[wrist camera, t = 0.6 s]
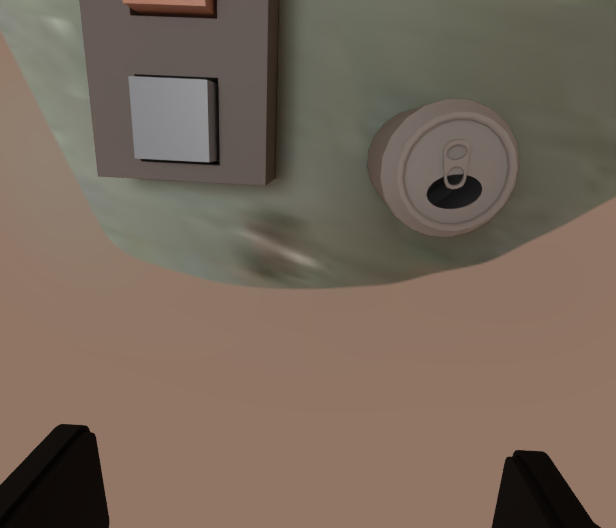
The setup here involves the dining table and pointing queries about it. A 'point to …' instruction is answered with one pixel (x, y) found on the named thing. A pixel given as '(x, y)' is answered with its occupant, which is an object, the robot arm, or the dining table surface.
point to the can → (444, 166)
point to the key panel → (187, 65)
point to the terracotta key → (175, 8)
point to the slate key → (175, 119)
